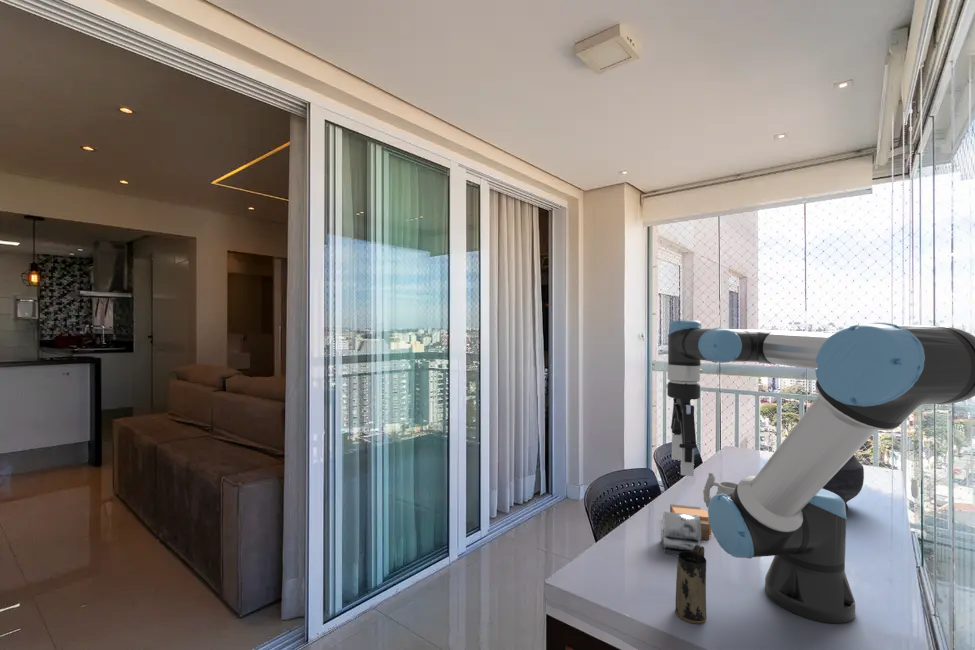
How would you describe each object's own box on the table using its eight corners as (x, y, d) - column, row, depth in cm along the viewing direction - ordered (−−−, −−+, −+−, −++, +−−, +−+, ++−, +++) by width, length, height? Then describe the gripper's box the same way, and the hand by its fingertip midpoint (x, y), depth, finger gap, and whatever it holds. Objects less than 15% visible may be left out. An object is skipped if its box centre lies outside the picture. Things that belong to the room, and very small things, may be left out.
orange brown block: (711, 536, 123) (711, 517, 123) (675, 532, 125) (675, 514, 125) (705, 528, 128) (706, 510, 128) (671, 524, 130) (672, 507, 130)
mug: (736, 526, 129) (737, 483, 129) (696, 512, 139) (697, 472, 139) (749, 520, 134) (750, 479, 134) (709, 506, 143) (710, 468, 143)
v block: (694, 545, 117) (694, 531, 117) (700, 558, 110) (700, 544, 110) (661, 540, 119) (661, 527, 119) (664, 553, 112) (665, 539, 112)
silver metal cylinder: (695, 534, 117) (696, 511, 117) (700, 546, 111) (701, 521, 111) (662, 530, 119) (663, 507, 119) (665, 541, 113) (666, 517, 113)
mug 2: (700, 628, 84) (701, 563, 84) (670, 615, 88) (671, 552, 88) (714, 610, 90) (715, 548, 90) (685, 598, 94) (687, 539, 94)
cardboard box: (709, 539, 121) (709, 524, 121) (676, 535, 122) (677, 520, 123) (699, 521, 132) (699, 507, 132) (669, 517, 134) (670, 504, 134)
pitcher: (809, 511, 141) (811, 414, 141) (783, 489, 161) (785, 403, 161) (875, 518, 137) (877, 418, 137) (840, 494, 157) (841, 406, 157)
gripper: (712, 388, 102) (710, 484, 102) (690, 377, 126) (688, 455, 126) (675, 387, 104) (673, 481, 104) (661, 376, 128) (659, 452, 128)
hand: (681, 467), depth 115 cm, fingers open, 13 cm apart
